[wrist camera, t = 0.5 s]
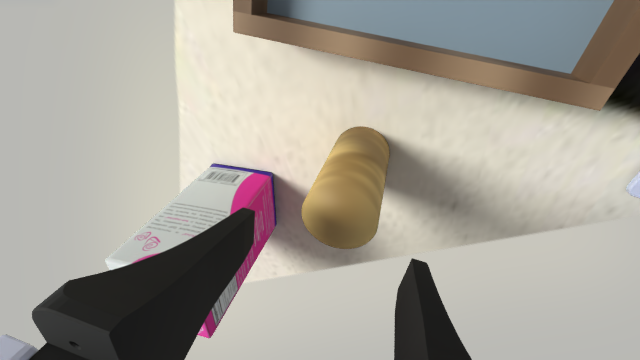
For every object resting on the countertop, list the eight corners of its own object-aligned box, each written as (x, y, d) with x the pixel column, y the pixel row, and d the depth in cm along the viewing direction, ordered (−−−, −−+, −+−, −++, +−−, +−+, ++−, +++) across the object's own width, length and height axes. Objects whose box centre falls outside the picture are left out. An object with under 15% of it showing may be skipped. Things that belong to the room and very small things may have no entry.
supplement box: (222, 215, 29) (131, 319, 20) (212, 161, 26) (98, 254, 17) (278, 226, 28) (209, 343, 19) (275, 171, 25) (190, 278, 16)
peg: (396, 134, 21) (387, 199, 14) (381, 182, 23) (367, 257, 16) (340, 120, 21) (306, 176, 15) (330, 168, 24) (297, 236, 17)
